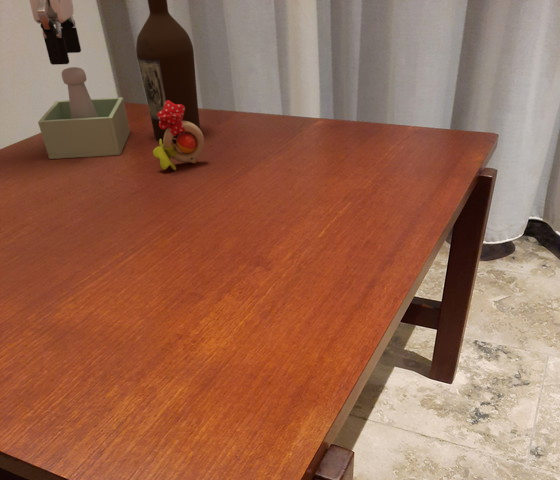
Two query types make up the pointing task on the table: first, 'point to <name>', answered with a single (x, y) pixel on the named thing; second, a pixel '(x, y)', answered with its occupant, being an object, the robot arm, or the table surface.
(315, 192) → the table surface
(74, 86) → the salt shaker
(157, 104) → the olive oil
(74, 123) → the bin
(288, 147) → the table surface
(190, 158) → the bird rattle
